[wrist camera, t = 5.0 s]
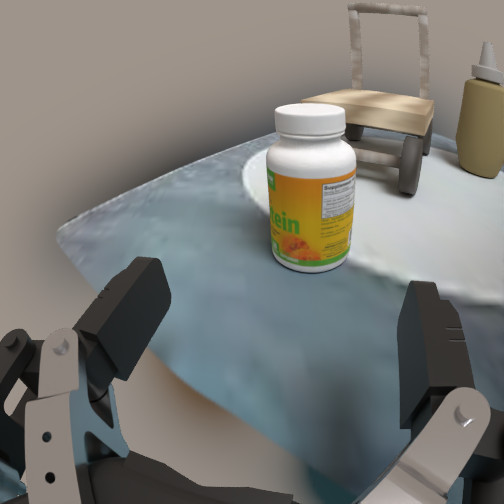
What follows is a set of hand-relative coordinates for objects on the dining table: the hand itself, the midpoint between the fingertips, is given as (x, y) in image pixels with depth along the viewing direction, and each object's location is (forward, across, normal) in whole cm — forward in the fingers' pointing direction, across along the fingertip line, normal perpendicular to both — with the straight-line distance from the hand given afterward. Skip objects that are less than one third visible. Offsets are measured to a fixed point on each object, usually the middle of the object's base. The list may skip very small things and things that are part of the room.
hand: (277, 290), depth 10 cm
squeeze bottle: (+33, -22, +6) cm, 40 cm away
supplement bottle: (+11, 0, +6) cm, 13 cm away
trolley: (+32, -7, +6) cm, 33 cm away
